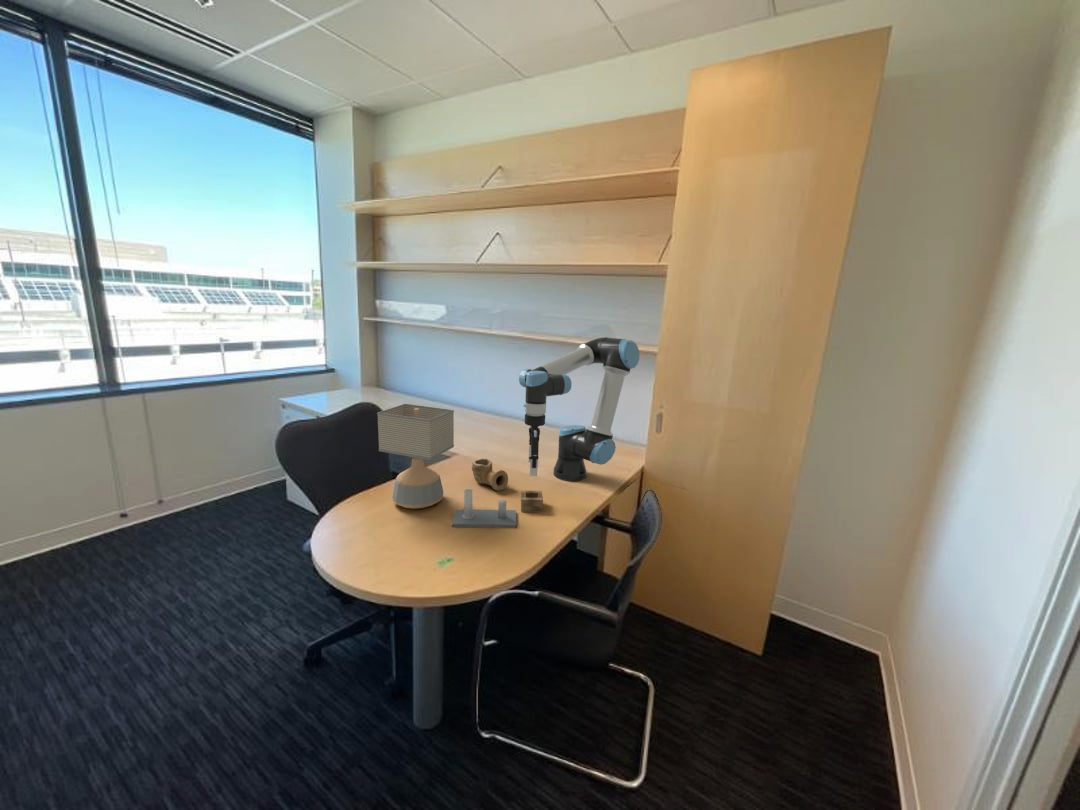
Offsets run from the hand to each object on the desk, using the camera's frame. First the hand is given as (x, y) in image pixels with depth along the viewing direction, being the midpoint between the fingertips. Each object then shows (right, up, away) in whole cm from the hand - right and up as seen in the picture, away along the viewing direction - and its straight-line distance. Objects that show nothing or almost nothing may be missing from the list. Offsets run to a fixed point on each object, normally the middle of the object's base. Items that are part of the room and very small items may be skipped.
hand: (532, 468), depth 161 cm
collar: (-1, -15, +4) cm, 16 cm away
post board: (-17, -17, -7) cm, 25 cm away
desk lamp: (-44, -13, +4) cm, 46 cm away
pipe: (-19, -11, +21) cm, 31 cm away
